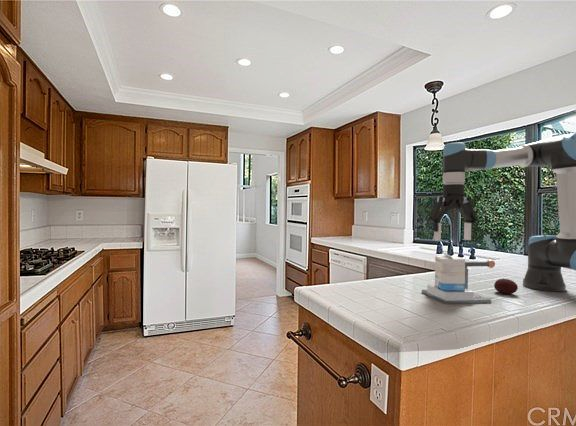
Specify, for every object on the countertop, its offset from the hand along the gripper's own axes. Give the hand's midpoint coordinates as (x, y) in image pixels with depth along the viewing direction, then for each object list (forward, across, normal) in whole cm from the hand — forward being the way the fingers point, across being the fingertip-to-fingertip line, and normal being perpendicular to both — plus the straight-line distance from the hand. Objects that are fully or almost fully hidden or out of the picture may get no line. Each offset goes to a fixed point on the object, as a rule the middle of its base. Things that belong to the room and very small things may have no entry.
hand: (452, 240), depth 127 cm
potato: (+23, -28, -2) cm, 36 cm away
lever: (+12, -15, -4) cm, 20 cm away
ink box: (+18, +2, +1) cm, 18 cm away
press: (+22, -2, -1) cm, 22 cm away
